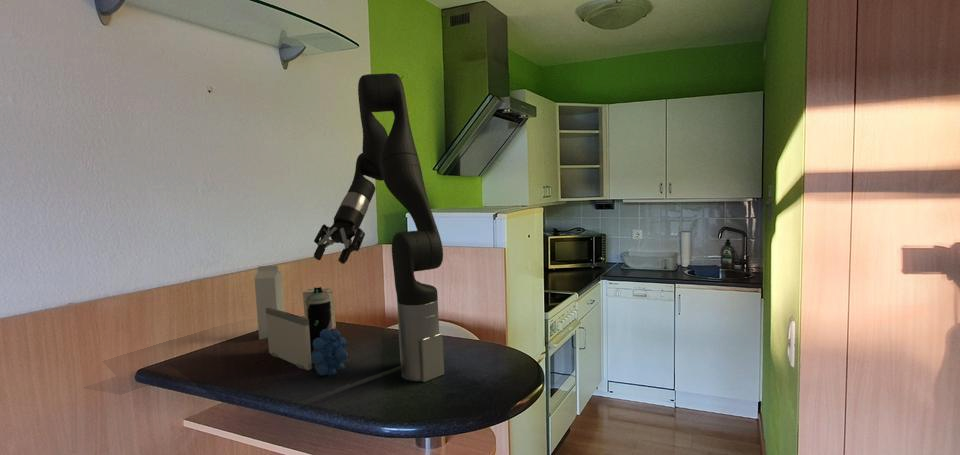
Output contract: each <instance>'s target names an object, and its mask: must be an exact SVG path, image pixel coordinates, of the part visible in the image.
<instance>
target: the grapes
mask: <svg viewBox="0 0 960 455" xmlns="http://www.w3.org/2000/svg"><path fill="white" fill-rule="evenodd" d="M347 345H348V342H347V339H346V338H345V337H343V336H341V332H340V330H339V329H337V328H335V329H332V330H328V329H323V330H322V331H321V332H320V338H316V339H315V340H314V341H313V347H314V349H315V350H317V351H315V352H314V353H313V354H312V355H311V360H312V362H313V363H314V364H317V366H316V369H315V371H316V373H317V374H318V375H319V376H330V375H336V374H337V373H338V371H342V370H344V369H345V368H346V367H345V366H346V365H345V364H344V362H347V361H348V360H347V359H348V356H350V354H349V355H348V352H347V351H348V350H346V347H347ZM346 360H347V361H346ZM343 361H344V362H343Z"/></svg>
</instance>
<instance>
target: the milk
mask: <svg viewBox="0 0 960 455" xmlns="http://www.w3.org/2000/svg"><path fill="white" fill-rule="evenodd" d="M254 285H255V286H254V288H255V302H256V315H257V330H258V340H263V339H268V331H267V317H266V308H269V307H270V308H274V309H277V310H280V311H284V312H286V309H285V308H286V307H285V297H284V296H285V294H284V279H283V274H282V273H281V271H279V266H278V265H261V266H260V265H259V266H257V273H256V275H255V277H254Z"/></svg>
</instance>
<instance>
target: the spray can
mask: <svg viewBox="0 0 960 455" xmlns="http://www.w3.org/2000/svg"><path fill="white" fill-rule="evenodd" d="M313 289H314V291H313V293H312V295H310V296H309V297H308V298H307V313H308V319H309V332H310V347H311V355H312V354H313V353H314V352H315V351H317V350H315V349H314V347H313V341H314V340H315V339H316V338H320V332H321V331H322V330H323V329H328V330H332V318H331V303H330V298H329V297H330V296H329V295H327V294H325V293H324V291H323V290H322V289H323V288H322V286H320V287H319V286H318V287H314V288H313ZM311 361H312V360H311ZM312 366H314V363H313V362H312Z"/></svg>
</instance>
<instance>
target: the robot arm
mask: <svg viewBox="0 0 960 455" xmlns="http://www.w3.org/2000/svg"><path fill="white" fill-rule="evenodd" d="M405 93H406V92H405V88H404V85H403V80H402V78H401V77H400V76H399V74H397V73H387V72H386V73H371V74H370V73H368V74H363V75H361V76H360V77H359V80H358V84H357V95H358V96H357V97H358V106H359V114H360V122H361V128H362V147H361V148H362V152H361V153H360V154H358V156H357V158H356V163H355V171H354V176H353V180H352V182H351V184H350V186H349V189H348V190H347V193H346V195H344V197H343V199H342V201H341V202H340V205H339V207H338V208H337V211H336V213H335V215H334V217H333V223H332V225H331V226H327V224H322V225H321V226H320V229H319V231H318V233H317V234H316V236H315V238H314V240H313V242H314V243H315V244H316V245H317V247H316V249H315V251H314V253H313V258H314V259H315V260H317V261H321V260H322V257H323V256H324V253H325V252H326V249H327V248H328V247H329V246H332V245H334V244H343V245H344V248H343V249H342V251H341V253H340V255H339V258H338V259H337V260H338V262H339V263H340V264H341V265H345V264H346V263H347V261H348V259H349V257H350V255H351V253H353V252H354V251H356V252H358V251H360V249H361V245H362V243H363V241H364V238H365V235H366V233H365V231H364V230H363V229H362V228H361V225H362V222H363V221H364V218H365V216H366V214H367V211H368V209H369V206H370V203H371V201H372V198H373V197H374V194H375V192H376V186H375V184H374V183H373V182H372V181H371V180H369V179H368V178H371V179H374V180H376V181H380V182H381V181H382V182H384V185H385V186H386V188H387V190H388V191H389V192H390V193H391V195H392V196H393V198H395V199H396V200H397V201H398V202H399V203H400V204H401V205H402V207H404V209H406V211H407V212H408V213H409V215H410V217H411V218H412V221H413V222H414V225H415V228H416V230H409V231H401V232H400V231H399V232H397V233H395V234H394V235H393V237H392V240H391V259H392V266H393V275H394V277H393V278H394V279H393V280H394V286H395V288H394V289H395V294H396V302H397V305H396V306H397V321H398V322H397V323H398V341H399V342H398V344H399V357H400V376H401V378H403V379H404V380H407V381H412V382H422V383H425V382H428V381H430V380H434V379H436V378H438V377H440V376H442V375H445V365H444V364H445V363H444V342H443V341H444V340H443V339H444V338H443V334H442V333H440V322H439V321H440V319H439V318H440V317H439V301H438V298H439V297H438V295H439V294H438V289H437V288H436V287H435V286H434V285H431V284H427V283H423V282H420V281H418V280H416V277H415V272H422V271H430V270H435V269H439V267H441V265H442V264H443V261H444V249H443V243H442V239H441V236H440V232H439V229H438V226H437V224H436V221H435V218H434V214H433V212H432V208H431V206H430V201H429V199H428V194H427V190H426V186H425V182H424V176H423V172H422V167H421V162H420V159H419V154H418V152H417V148H416V145H415V141H414V136H413V133H412V128H411V123H410V117H409V116H410V115H409V111H408V106H407V99H406V94H405ZM383 112H393V116H394V119H393V122H392V126H391V129H390V132H389V134H388V132H387V129H385V126H384V125H383V124H382V123H381V122H380V121H379V120H378V119H377V117H376V116H375V115H374V113H383ZM366 177H368V178H366Z"/></svg>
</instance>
